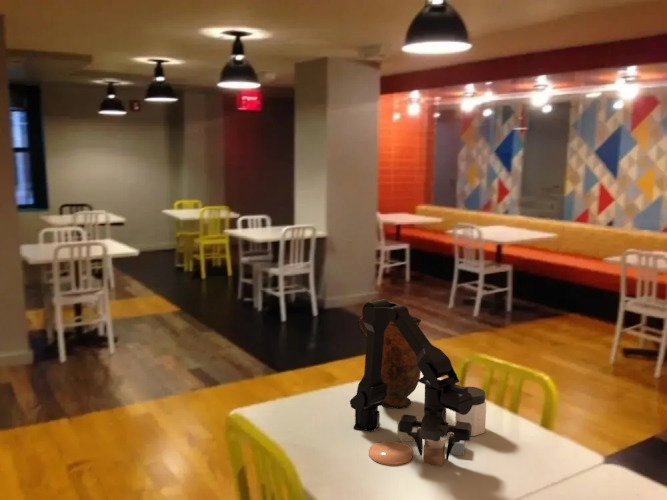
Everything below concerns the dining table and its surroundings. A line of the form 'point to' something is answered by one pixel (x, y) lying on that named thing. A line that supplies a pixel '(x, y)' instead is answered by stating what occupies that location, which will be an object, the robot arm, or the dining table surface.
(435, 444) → the walnut block
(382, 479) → the dining table surface
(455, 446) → the plastic brick
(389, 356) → the pitcher
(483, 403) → the jar
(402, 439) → the sage cube
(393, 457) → the coaster
